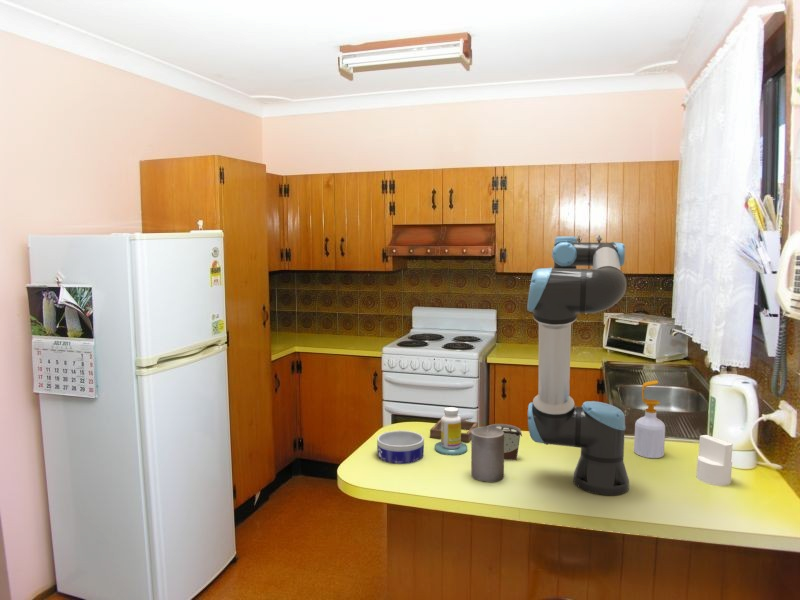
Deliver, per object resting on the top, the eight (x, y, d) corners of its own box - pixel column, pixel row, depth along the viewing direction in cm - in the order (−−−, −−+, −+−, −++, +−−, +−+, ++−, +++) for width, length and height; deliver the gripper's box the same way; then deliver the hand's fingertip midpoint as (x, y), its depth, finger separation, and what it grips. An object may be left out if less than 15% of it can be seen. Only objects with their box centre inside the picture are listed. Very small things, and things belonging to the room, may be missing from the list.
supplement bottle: (464, 446, 194) (465, 408, 193) (452, 451, 189) (453, 413, 188) (449, 441, 199) (449, 405, 197) (436, 446, 194) (437, 409, 193)
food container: (519, 453, 190) (520, 424, 189) (521, 460, 184) (522, 430, 183) (481, 452, 192) (482, 422, 191) (482, 459, 186) (483, 428, 185)
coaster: (462, 457, 187) (462, 454, 187) (430, 452, 191) (430, 449, 191) (470, 445, 197) (470, 443, 197) (440, 441, 201) (440, 439, 201)
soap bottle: (664, 460, 185) (669, 385, 182) (634, 456, 188) (637, 383, 185) (662, 450, 193) (666, 379, 191) (633, 447, 196) (636, 376, 194)
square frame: (468, 442, 200) (468, 434, 200) (430, 437, 205) (430, 429, 205) (477, 430, 213) (477, 422, 213) (441, 425, 218) (441, 418, 218)
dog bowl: (367, 454, 189) (367, 437, 189) (402, 443, 200) (402, 427, 199) (398, 468, 178) (398, 449, 177) (433, 456, 188) (433, 438, 188)
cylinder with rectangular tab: (689, 475, 173) (691, 437, 172) (710, 471, 177) (712, 433, 175) (716, 487, 165) (718, 447, 163) (737, 482, 168) (740, 442, 167)
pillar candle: (495, 467, 179) (495, 420, 177) (509, 480, 169) (509, 430, 168) (465, 471, 176) (466, 423, 174) (478, 484, 167) (478, 434, 165)
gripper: (573, 284, 186) (570, 349, 188) (578, 279, 209) (576, 337, 211) (549, 283, 188) (547, 347, 191) (557, 278, 212) (555, 335, 214)
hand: (562, 342), depth 201 cm, fingers open, 13 cm apart
